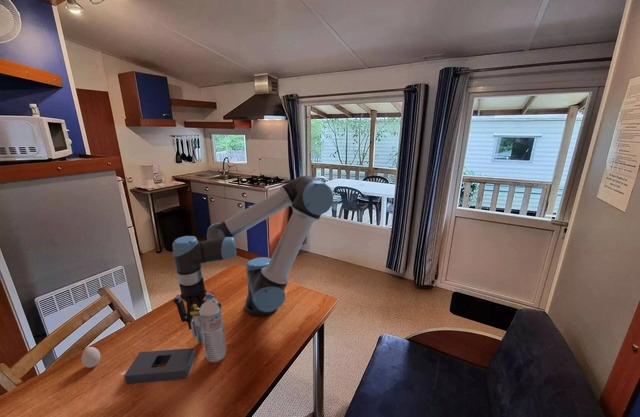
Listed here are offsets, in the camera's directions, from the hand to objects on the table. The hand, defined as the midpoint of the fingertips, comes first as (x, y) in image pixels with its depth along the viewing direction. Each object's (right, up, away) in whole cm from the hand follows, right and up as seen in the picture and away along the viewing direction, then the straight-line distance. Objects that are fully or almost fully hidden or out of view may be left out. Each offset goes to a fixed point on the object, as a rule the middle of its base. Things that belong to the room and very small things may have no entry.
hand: (200, 334), depth 96 cm
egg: (-33, -7, -9) cm, 34 cm away
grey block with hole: (-8, -7, -9) cm, 15 cm away
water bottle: (+7, -6, -4) cm, 10 cm away
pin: (0, -2, +1) cm, 3 cm away
